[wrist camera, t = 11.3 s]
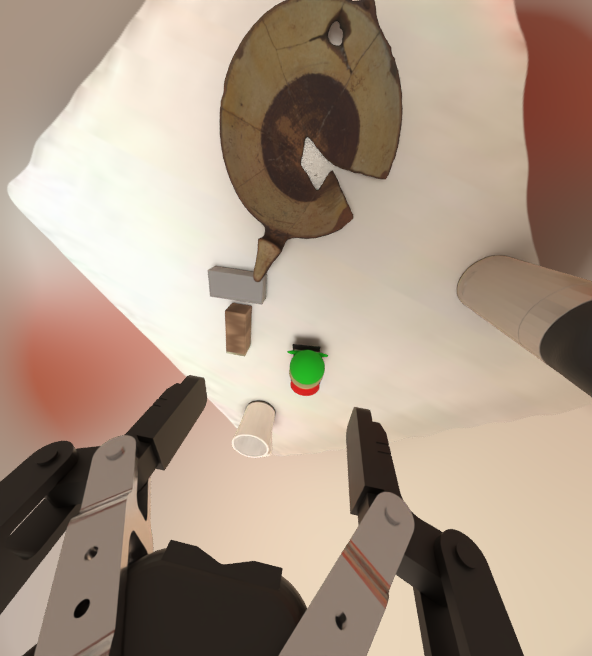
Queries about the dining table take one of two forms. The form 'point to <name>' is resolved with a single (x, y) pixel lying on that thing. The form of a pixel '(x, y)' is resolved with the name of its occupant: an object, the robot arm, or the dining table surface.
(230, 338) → the block
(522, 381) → the dining table surface
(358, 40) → the oil lamp
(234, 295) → the hammer head
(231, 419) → the dining table surface
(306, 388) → the toy
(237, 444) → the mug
